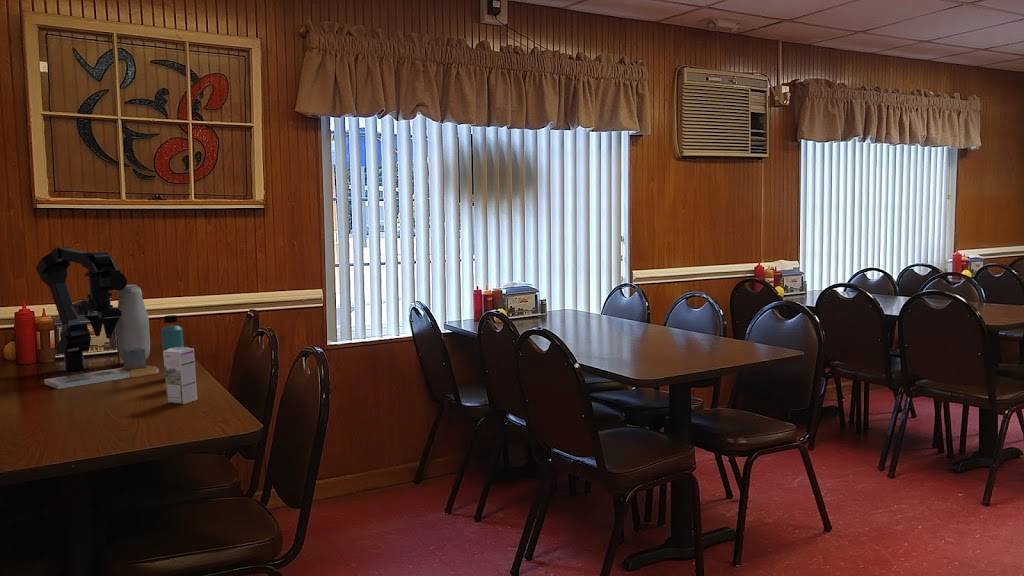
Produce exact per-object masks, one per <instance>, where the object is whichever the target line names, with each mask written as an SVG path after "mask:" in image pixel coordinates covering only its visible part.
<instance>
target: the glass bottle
mask: <svg viewBox="0 0 1024 576" xmlns="http://www.w3.org/2000/svg"><path fill="white" fill-rule="evenodd" d="M117 297H118V298H117V299H118V301H117V308H119V309H121V310H122V316H118V317H120V319H119V320H118V322H117V324H116V326H115V332H116V339H117V341H116V342H117V350H118V354H119V358H120V359H121V360H122V361H123V362H124V360H123V350H125V349H132V348H142V349H145V358H146V360H147V359H148V358H149V356H150V352H151V337H150V336H151V335H150V319H149V314H148V311H147V309H146V306H145V302H144V299H143V291H142V290H141V287H139V286H138V285H136V284H127V285H126V287H125V288H124V289H123V290H120V291H118V293H117Z"/></svg>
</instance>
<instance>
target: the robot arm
mask: <svg viewBox="0 0 1024 576" xmlns="http://www.w3.org/2000/svg"><path fill="white" fill-rule="evenodd" d="M71 263H75V264H80V265H81V267H82V268H84V269H86V270H88V271H87V272H85V273H84V276H85V277H88V286H89V293H87V295H86V298H85V299H83V300H80V301H77V302H75V303H73V301H72V298H71V296H70V295H71V294H70V292H69V290H68V286H67V283H66V281H67V278H68V277H67V276H68V275H69V274H68V269H69V267H71ZM35 268H36V272H37V274H38V276H39V278H40V280H41V282H43V283H44V284H45V285H47V286H48V288H49V290H50V293H51V296H52V298H53V301H54V304H55V308H56V310H57V313H58V316H59V319H60V323H61V325H62V326H61V329H60V333H59V336H60V337H59V338H60V339H59V342H58V343H57V345H56V347H55V350H56V353H57V354H58V355H59V354H61V355H63V358H64V360H63V361H64V368H61V369H60V370H61V371H64V372H67V373H69V372H76V371H83V370H89V367H87V366H85V362H84V361H85V359H84V352H86V351H88V352H89V351H90V348H91V342H92V337H91V332H90V330H89V327H88V326H89V325H88V324H87V323H86V322H83V323H82V322H81V321H80V320H79V319H78V316H81V315H82V317H83V318H85V319H87V320H88V322H89V323H90V325H91V328H92V330H93V332H94V335H95V337H100V335H101V333H102V329H104V334H105V338H106V339H107V340H108V339H111V338H112V335H113V333H114V330H115V329H116V324H117V322H118V320H119V319H120V317H118V316H122V310H121V309H119V308H118V306H117V307H116V306H115V307H114V305H113V304H111V297H112V296H113V292H110V291H115V292H116V291H118V292H119V291H120V290H123V289H124V288H125V287H126V285H128V279H127V278H126V275H124V273H121V269H118V267H117V265H116V263H115V262H114V261H113V258H112V257H111V255H110V254H109V252H107V251H93V252H91V251H90V252H89V251H85V250H79V249H75V248H71V247H69V246H62V247H60V246H59V247H55V248H53V249H52V251H51V252H49V253H48V254H47V255H45V256H43V257H41V259H40V260H39V261H38V264H37V265H36V267H35Z"/></svg>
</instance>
